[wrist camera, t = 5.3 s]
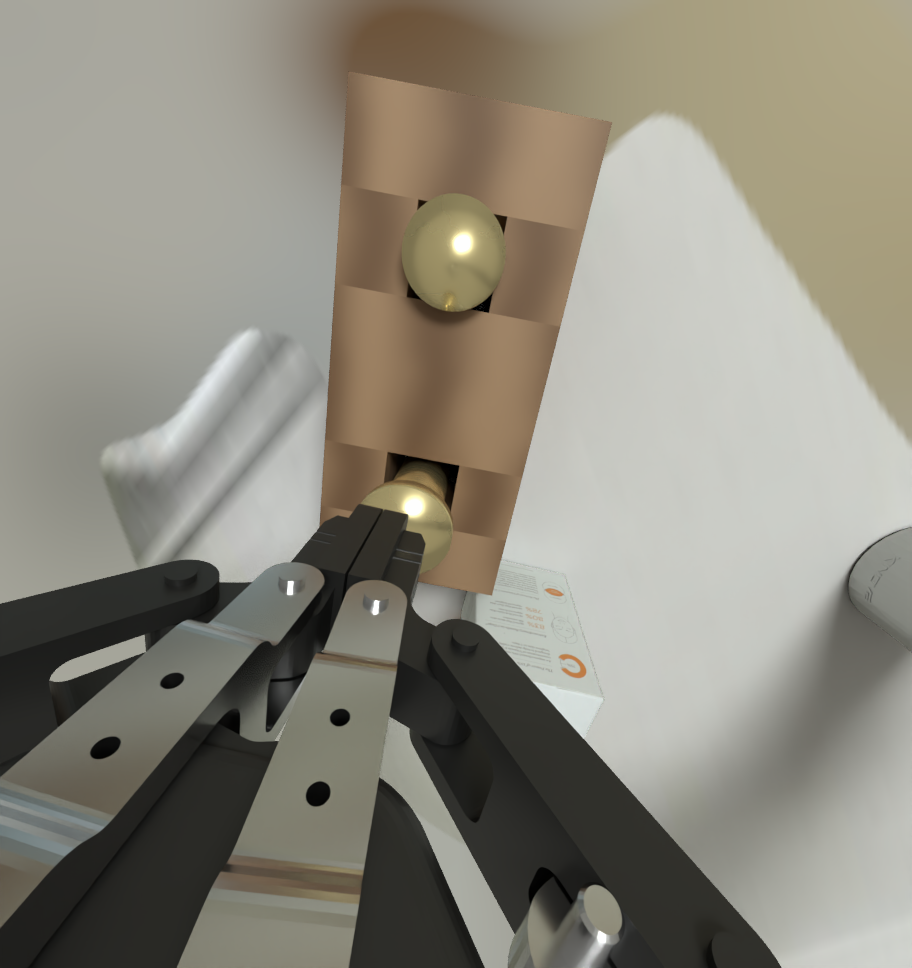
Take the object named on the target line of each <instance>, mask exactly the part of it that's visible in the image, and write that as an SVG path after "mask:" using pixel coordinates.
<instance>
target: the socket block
mask: <svg viewBox="0 0 912 968" xmlns="http://www.w3.org/2000/svg"><path fill="white" fill-rule="evenodd" d="M611 124H612V122H608V121H603V120H597V119H593V118H587V117H582V116H577V115H572V114H567V113H562V112H556V111H551V110H546V109H541V108H535V107H530V106H525V105H520V104H514V103H510V102H505V101H499V100H494V99H489V98H484V97H479V96H473V95H468V94H463V93H458V92H452V91H448V90H442V89H437V88H432V87H427V86H421V85H416V84H411V83H406V82H401V81H396V80H391V79H385V78H380V77H375V76H370V75H365V74H359V73H354V72H348V86H347V102H346V117H345V133H344V149H343V165H342V181H341V197H340V213H339V228H338V244H337V260H336V276H335V291H334V307H333V323H332V339H331V355H330V370H329V386H328V402H327V418H326V434H325V450H324V465H323V481H322V497H321V513H320V526H321V525H322V524H323V523H324V522H325V521H327V520H329V519H331V518H333V517H335V516H337V515H339V516H343V517H348V518H349V517H350V515H351V514H352V512H353V511H354V510H355V508H356V507H357V505H358V504H361V503H362V501H363V500H364V498H365V497H366V496H367V494H368V493H369V492H370V491H372V490H373V489H374V488H375V487H377V486H379V485H381V484H383V483H386V482H389V481H393V479H394V478H395V476H396V474H397V473H398V471H399V469H400V467H401V466H402V464H403V462H404V461H405V455H407V456H412V457H418V458H423V459H428V460H433V461H439V462H444V463H449V464H454V465H459V470H458V475H457V481H456V484H453V483H449V484H448V488H447V492H446V496H445V502H446V504H447V505H448V507H449V510H450V512H451V515H452V519H453V535H452V541H451V545H450V549H449V551H448V553H447V555H446V556H445V558H444V559H443V560H442V561H441V562H440V563H439V564H438V565H437V566H436V567H434V568H433V569H431V570H429V571H427V572H425V573H422V574H419V578H418V582H423V583H428V584H433V585H438V586H444V587H449V588H454V589H459V590H465V591H470V592H475V593H480V594H486V595H491V596H492V593H493V590H494V586H495V582H496V578H497V574H498V570H499V566H500V562H501V558H502V554H503V550H504V546H505V542H506V538H507V534H508V530H509V526H510V523H511V519H512V515H513V511H514V507H515V503H516V499H517V495H518V491H519V487H520V483H521V479H522V475H523V471H524V467H525V463H526V459H527V456H528V452H529V448H530V444H531V440H532V436H533V432H534V428H535V424H536V420H537V416H538V412H539V408H540V404H541V400H542V396H543V392H544V389H545V385H546V381H547V377H548V373H549V369H550V365H551V361H552V357H553V353H554V349H555V345H556V341H557V337H558V333H559V329H560V325H561V322H562V318H563V314H564V310H565V306H566V302H567V298H568V294H569V290H570V286H571V282H572V278H573V274H574V270H575V266H576V262H577V258H578V255H579V251H580V247H581V243H582V239H583V235H584V231H585V227H586V223H587V219H588V215H589V211H590V207H591V203H592V199H593V195H594V191H595V188H596V184H597V180H598V176H599V172H600V168H601V164H602V160H603V156H604V152H605V148H606V144H607V140H608V136H609V132H610V128H611ZM452 193H457V194H464V195H468V196H471V197H473V198H475V199H477V200H479V201H480V202H482V203H483V204H484V205H485V206H487V207H488V208H489V209H490V210H491V212H492V213H493V214H494V216H495V217H496V218H497V220H498V222H499V224H500V226H501V229H502V232H503V235H504V239H505V246H506V258H505V265H504V269H503V273H502V276H501V278H500V281H499V283H498V285H497V286H496V288H495V290H494V291H493V293H492V298H491V303H490V309H489V313H487V312H481V311H476V310H471V309H469V310H465V311H460V312H450V311H444V310H440V309H437V308H435V307H432V306H431V305H429V304H427V303H426V302H425V301H423V300H422V299H421V298H420V297H419V296H418V295H417V294H416V293H415V291H414V290H413V289H412V287H411V286H410V284H409V282H408V280H407V278H406V275H405V272H404V269H403V263H402V242H403V237H404V234H405V230H406V228H407V226H408V223H409V222H410V220H411V218H412V217H413V215H414V214H415V213H416V211H417V210H418V209H419V208H420V207H421V206H422V205H424V204H425V203H426V202H428V201H429V200H431V199H433V198H435V197H438V196H440V195H444V194H452Z"/></svg>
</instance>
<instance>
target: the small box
mask: <svg viewBox="0 0 912 968" xmlns="http://www.w3.org/2000/svg"><path fill="white" fill-rule="evenodd" d="M461 619H462V620H467V621H470V622H473V623H476V624H478V625H479V626H481V627H483V628H484V629H485V630H487V631H488V632H489V633H490V634H491V636H492V637H493V638H494V639H495V640H496V641H497V642H498V643H499V645H500V646H501V647H502V648H503V649H504V650H505V651H506V652H507V654H508V655H509V656H510V657H511V658H512V659H513V660H514V661H515V663H516V664H517V665H518V666H519V667H520V668H521V669H522V670H523V672H524V673H525V674H526V675H527V676H528V677H529V678H530V679H531V681H532V682H533V683H534V684H535V685H536V686H537V687H538V688H539V689H540V691H541V692H542V693H543V694H544V695H545V696H546V697H547V698H548V700H549V701H550V702H551V703H552V704H553V705H554V706H555V707H556V709H557V710H558V711H559V712H560V713H561V714H562V715H563V716H564V718H565V719H566V720H567V721H568V722H569V723H570V724H571V725H572V727H573V728H574V729H575V730H576V731H577V732H578V733H579V734H580V736H581V737H582V738H583V739H584V738H585V736H586V734H587V732H588V730H589V728H590V726H591V724H592V722H593V720H594V718H595V717H596V715H597V713H598V711H599V709H600V707H601V705H602V703H603V701H604V696H603V693H602V690H601V688H600V685H599V681H598V678H597V675H596V672H595V669H594V666H593V662H592V659H591V656H590V653H589V649H588V646H587V643H586V640H585V637H584V634H583V630H582V627H581V624H580V621H579V617H578V614H577V611H576V608H575V604H574V601H573V598H572V595H571V592H570V589H569V586H568V582H567V579H566V576H565V575H564V574H560V573H556V572H552V571H547V570H543V569H539V568H534V567H530V566H525V565H521V564H517V563H512V562H508V561H503V560H501V562H500V566H499V570H498V574H497V578H496V582H495V586H494V590H493V593H492V596H491V595H486V594H480V593H475V592H470V591H467V594H466V597H465V601H464V604H463V608H462V612H461Z"/></svg>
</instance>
